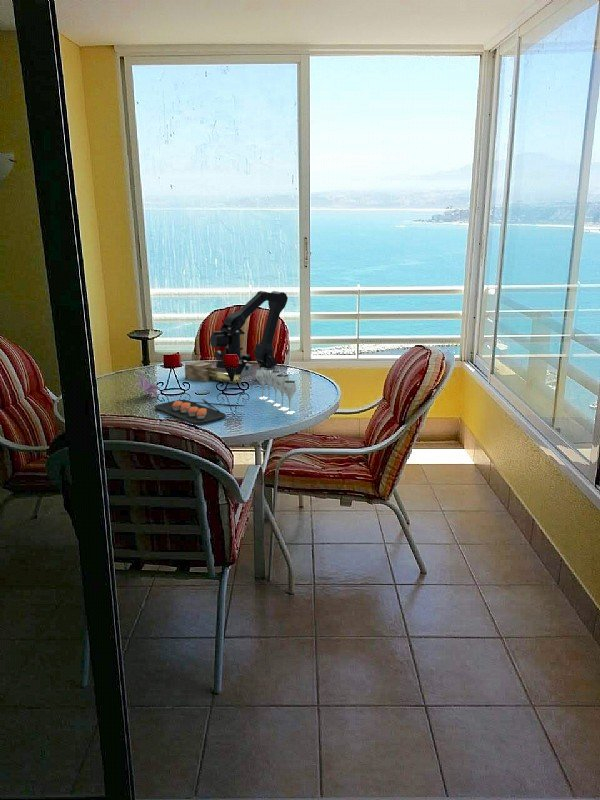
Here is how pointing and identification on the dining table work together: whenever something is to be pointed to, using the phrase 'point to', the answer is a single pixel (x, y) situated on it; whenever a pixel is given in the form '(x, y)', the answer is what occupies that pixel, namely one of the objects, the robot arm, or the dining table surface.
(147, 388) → the lily
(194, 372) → the wooden block
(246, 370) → the v block
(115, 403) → the dining table surface
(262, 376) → the goblet set
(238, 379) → the axle
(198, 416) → the sushi plate
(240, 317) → the robot arm
